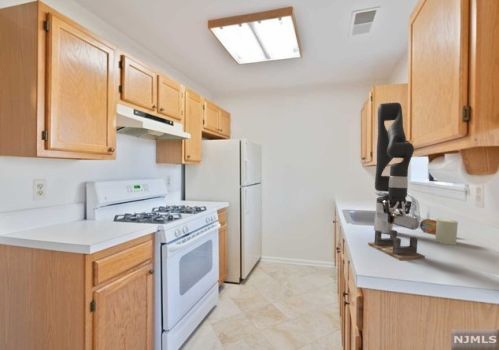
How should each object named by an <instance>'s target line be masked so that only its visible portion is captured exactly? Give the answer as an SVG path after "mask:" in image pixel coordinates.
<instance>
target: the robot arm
mask: <svg viewBox="0 0 499 350" xmlns="http://www.w3.org/2000/svg"><path fill="white" fill-rule="evenodd" d="M403 119H404V118H403V108H402V104H401V103H400V102H385V103H380V104H379V105H378V107H377V143H376V166H375V167H376V168H375V169H376V170H375V179H374V189H375V191H376V192H377V191H378V192H387V194H385V195H382V196H378V197H377V198H376V206H375V208H376V209H375V214H374V222H373V223H374V225H373V230H374V232H375V231H376V230H379V231H382V234H389V235H390V230H394V229H393V228H394V224H393V216H392V215H393V214H394V213H395V212H396V211H397V210H398V212H399V213H398V214H401V215H404V216H407V215H409V214H410V210H411V208H412V204H413V203H412V201H410V200H407V199H406V198H408V186H409V185H408V184H409V180H408V179H409V178H408V175H409V174H408V173H409V166H410V163H411V159H412V158H413V155H414V153H415V146H414V144H412V143H411V142H406V141H407V137H406V133H405V130H404V121H403ZM386 121H389V122H390V121H393V122H392V123H391V124H390V126H388V129H387V127H386V124H385V122H386ZM393 159H402V160H401V161H400V162H396V163H395V162H394V163H391V161H393ZM390 163H391V165H390V169H389V175H383V172H384V170H385V169H386V168H387V166H388V165H389V164H390ZM379 210H383V211H384V213H386V214H387V215H388V220H387V221H388V222H386V221H383V220H380V219H378V218H377V212H378V211H379Z"/></svg>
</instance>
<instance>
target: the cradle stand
mask: <svg viewBox="0 0 499 350" xmlns="http://www.w3.org/2000/svg"><path fill="white" fill-rule="evenodd" d="M382 234H383V233H382V231H379V230H376V231H375V230H374V242H367V245H368V246H369V247H371V248H373V249H375V250H378V251H379V252H382V253H383V254H385V255H387V256H390V257H392V258H394V259H396V260H398V261H402V260H403V261H404V260H421V259H425V258H426V255H424V254H421V253H419V252H418V237H415V236H409V245H401V243H402V239H401V238H400V237H398V230H395V229H392V230H390V233H389V238H388V237H385V238H382Z"/></svg>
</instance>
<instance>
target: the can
mask: <svg viewBox="0 0 499 350" xmlns="http://www.w3.org/2000/svg"><path fill="white" fill-rule="evenodd" d="M435 220H436V221H437V222H436V235H435V238H434V240H435V242H438V243H441V244H446V245H457V236H458V223H459V222H458V221H457V220H453V219H449V218H436V219H435Z"/></svg>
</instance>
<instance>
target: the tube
mask: <svg viewBox="0 0 499 350" xmlns="http://www.w3.org/2000/svg"><path fill="white" fill-rule="evenodd" d="M392 216H393V225H396V226H399V227H402V228H404V229H406V228H407V229H408V230H413V231H416V230H417V229H418V228H419V226H420V222H419V219H417V218H416V217H411V216H407V215H405V216H404V215H401V214H400V213H397V212H394V214H393V215H392ZM377 218H378V219H380V220H383V221H386V222H388V221H387V220H388V215H387V214H386V213H384V211H383V210H379V211H378V212H377Z"/></svg>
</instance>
